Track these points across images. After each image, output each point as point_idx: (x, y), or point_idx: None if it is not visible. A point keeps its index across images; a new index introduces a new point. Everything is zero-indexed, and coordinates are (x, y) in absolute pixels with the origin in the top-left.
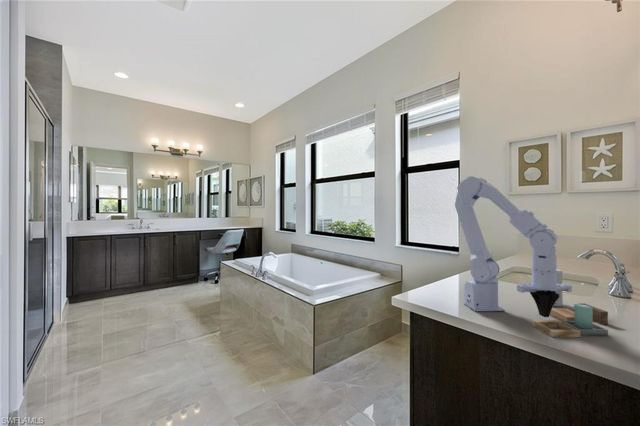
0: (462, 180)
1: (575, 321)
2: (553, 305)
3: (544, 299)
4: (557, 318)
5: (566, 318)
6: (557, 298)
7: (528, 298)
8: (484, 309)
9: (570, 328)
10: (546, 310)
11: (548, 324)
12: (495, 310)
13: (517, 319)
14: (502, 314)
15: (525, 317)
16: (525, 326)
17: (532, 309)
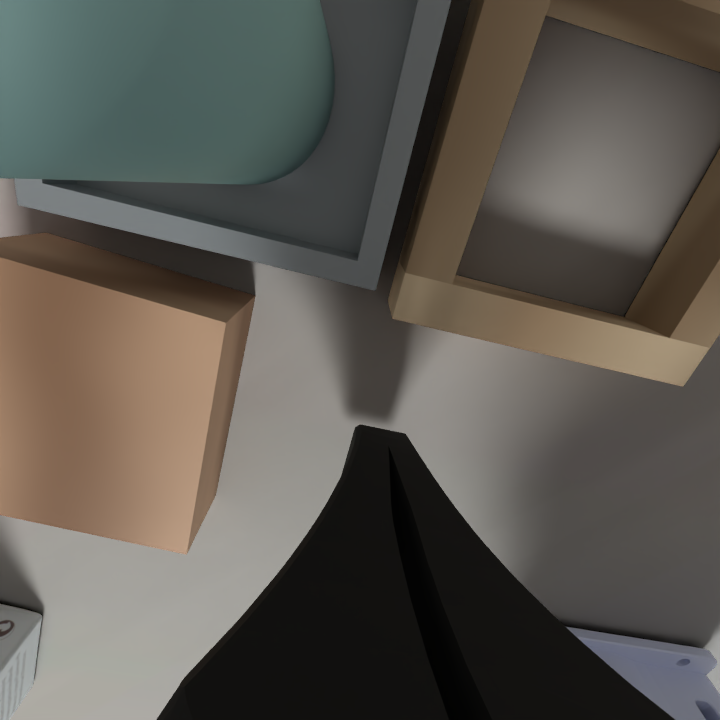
0: None
1: (314, 107)
2: (2, 608)
3: (593, 680)
4: (229, 416)
5: (231, 325)
6: (242, 656)
7: (84, 712)
8: (649, 655)
9: (538, 25)
10: (418, 478)
11: (538, 301)
12: (574, 632)
13: (584, 493)
14: (578, 580)
15: (470, 506)
16: (710, 368)
17: (242, 595)
